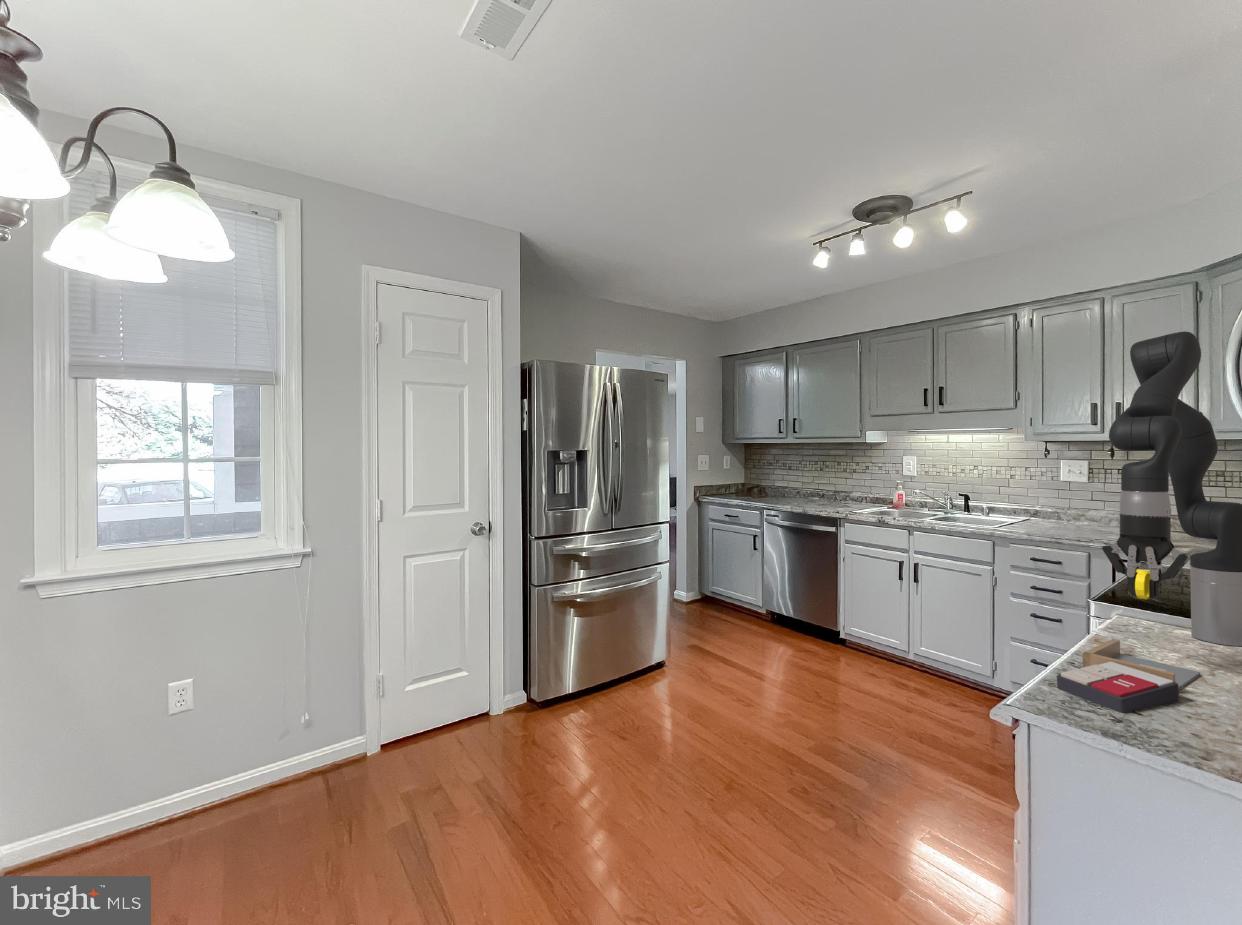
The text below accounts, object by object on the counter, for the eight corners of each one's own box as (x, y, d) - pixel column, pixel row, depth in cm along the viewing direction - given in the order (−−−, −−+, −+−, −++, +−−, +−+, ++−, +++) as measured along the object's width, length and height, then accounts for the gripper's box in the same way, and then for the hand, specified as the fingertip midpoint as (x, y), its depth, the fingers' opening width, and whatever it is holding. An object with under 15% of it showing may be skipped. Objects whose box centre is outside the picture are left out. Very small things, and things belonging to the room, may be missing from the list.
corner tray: (1113, 654, 120) (1112, 638, 120) (1200, 675, 108) (1199, 657, 108) (1082, 670, 112) (1082, 652, 112) (1173, 693, 100) (1173, 674, 100)
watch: (1140, 596, 112) (1140, 567, 113) (1158, 599, 110) (1158, 570, 110) (1130, 597, 109) (1130, 568, 110) (1148, 600, 107) (1149, 571, 107)
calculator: (1055, 671, 104) (1109, 658, 108) (1056, 693, 104) (1110, 679, 108) (1121, 695, 93) (1179, 679, 97) (1122, 719, 93) (1180, 702, 97)
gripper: (1094, 511, 114) (1094, 592, 114) (1185, 517, 102) (1185, 607, 102) (1108, 509, 118) (1108, 587, 118) (1198, 515, 106) (1198, 602, 106)
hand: (1144, 596), depth 110 cm, fingers closed on watch, 2 cm apart
